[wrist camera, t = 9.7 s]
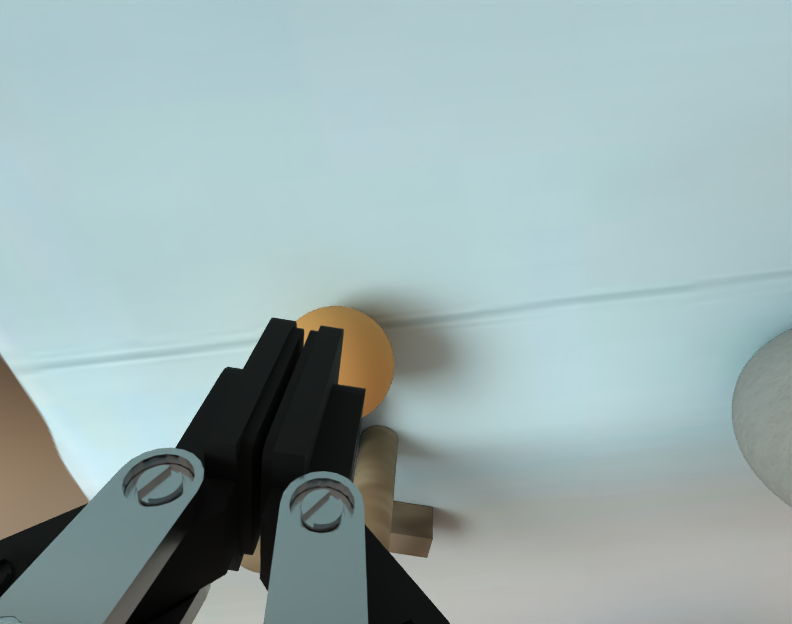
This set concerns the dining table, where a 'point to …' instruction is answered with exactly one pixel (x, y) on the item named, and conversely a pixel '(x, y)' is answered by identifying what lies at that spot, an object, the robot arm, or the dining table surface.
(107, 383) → the dining table surface
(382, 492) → the pin
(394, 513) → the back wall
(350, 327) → the orange ball
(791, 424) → the ball
